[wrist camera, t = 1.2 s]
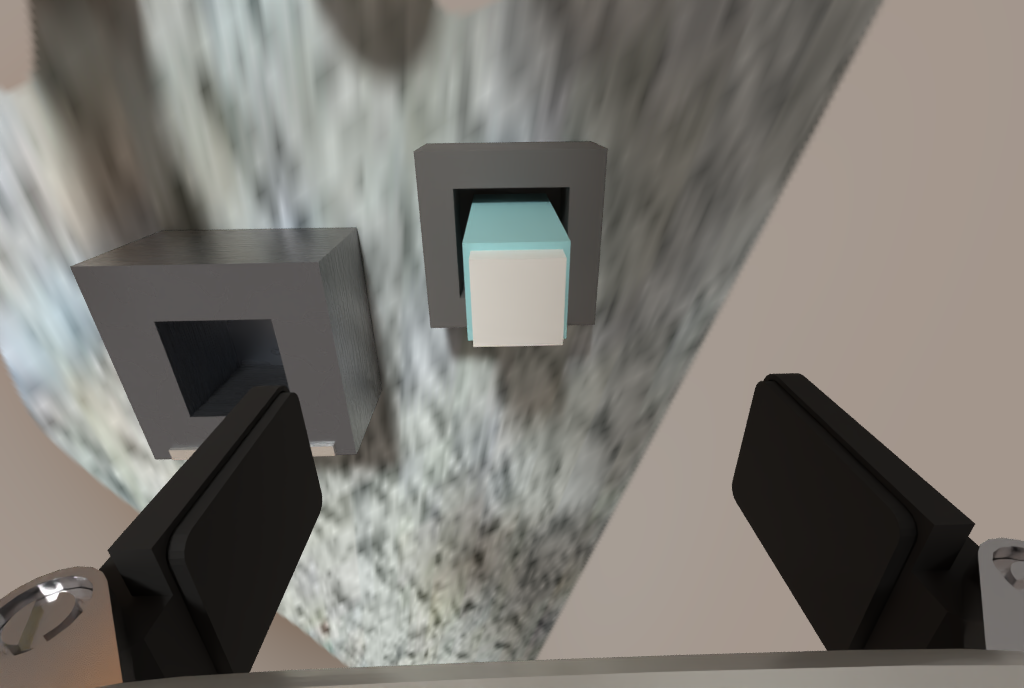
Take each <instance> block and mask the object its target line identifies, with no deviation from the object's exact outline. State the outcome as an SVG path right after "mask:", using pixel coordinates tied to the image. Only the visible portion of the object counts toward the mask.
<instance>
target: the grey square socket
mask: <svg viewBox="0 0 1024 688" xmlns="http://www.w3.org/2000/svg"><path fill="white" fill-rule="evenodd" d="M607 150H608V149H607V148H605V147H602V146H600V145H598V144H596V143H593V142H591V141H585V142H510V143H434V144H425V145H423V146H422V147H420V148H419V149H417V150H415V151H414V159H415V169H416V180H417V190H418V201H419V211H420V221H421V232H422V242H423V253H424V263H425V274H426V284H427V294H428V305H429V315H430V326H431V328H452V327H467V316H466V299H465V282H464V264H463V247H462V242H463V238H464V234H465V230H466V226H467V222H468V218H469V214H470V210H471V206H472V201H473V197H474V194H531V193H546V195H547V197H548V199H549V201H550V202H551V204H552V206H553V208H554V210H555V212H556V214H557V216H558V218H559V220H560V222H561V224H562V226H563V227H564V229H565V231H566V233H567V235H568V237H569V239H570V241H571V246H570V268H569V290H568V312H567V325H595V312H596V298H597V285H598V271H599V258H600V244H601V231H602V218H603V204H604V191H605V177H606V164H607Z"/></svg>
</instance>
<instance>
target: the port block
mask: <svg viewBox="0 0 1024 688" xmlns="http://www.w3.org/2000/svg"><path fill="white" fill-rule="evenodd" d="M70 267H71V270H72V272H73V274H74V277H75V279H76V281H77V283H78V286H79V288H80V290H81V292H82V295H83V297H84V299H85V301H86V304H87V306H88V308H89V310H90V313H91V315H92V317H93V319H94V322H95V324H96V326H97V329H98V331H99V333H100V335H101V338H102V340H103V342H104V344H105V347H106V349H107V351H108V353H109V356H110V358H111V360H112V362H113V365H114V367H115V369H116V371H117V374H118V376H119V378H120V381H121V383H122V385H123V387H124V390H125V392H126V394H127V396H128V399H129V401H130V403H131V405H132V408H133V410H134V412H135V414H136V417H137V419H138V421H139V423H140V426H141V428H142V430H143V433H144V435H145V437H146V439H147V442H148V444H149V446H150V448H151V451H152V453H153V455H154V457H155V459H172V460H188V459H189V458H190V457H191V455H192V454H193V453H194V452H195V451H196V450H197V449H198V448H199V446H200V445H201V444H202V443H203V442H204V441H205V440H206V439H207V437H208V436H209V435H210V434H211V433H212V432H213V431H214V430H215V428H216V427H217V426H218V425H219V424H220V423H221V422H222V421H223V419H224V418H225V417H226V416H227V415H228V414H229V413H230V412H231V410H232V409H233V408H234V407H235V406H236V405H237V404H238V403H239V401H240V400H241V399H242V398H243V397H244V396H245V395H246V394H247V392H248V391H249V390H250V389H251V388H253V387H254V386H281V385H284V386H286V387H287V388H288V389H289V391H290V392H294V393H296V394H297V395H298V398H299V401H300V405H301V409H302V414H303V418H304V422H305V426H306V430H307V434H308V439H309V443H310V447H311V451H312V455H313V456H335V455H348V454H357V452H358V449H359V447H360V444H361V442H362V439H363V437H364V434H365V432H366V429H367V427H368V424H369V422H370V419H371V417H372V414H373V412H374V409H375V407H376V404H377V402H378V399H379V397H380V394H381V392H382V387H381V381H380V374H379V368H378V361H377V355H376V349H375V342H374V336H373V329H372V323H371V317H370V310H369V304H368V297H367V291H366V285H365V278H364V272H363V266H362V259H361V253H360V246H359V240H358V234H357V228H298V229H238V230H178V231H160V232H158V233H155V234H152V235H150V236H147V237H145V238H142V239H140V240H137V241H135V242H132V243H129V244H127V245H124V246H122V247H119V248H117V249H114V250H111V251H109V252H106V253H104V254H101V255H99V256H96V257H93V258H91V259H88V260H86V261H83V262H81V263H78V264H76V265H73V266H70Z"/></svg>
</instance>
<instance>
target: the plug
mask: <svg viewBox="0 0 1024 688" xmlns="http://www.w3.org/2000/svg"><path fill="white" fill-rule="evenodd" d="M570 246H571V241H570V239H569V237H568V235H567V233H566V231H565V229H564V227H563V226H562V224H561V222H560V220H559V218H558V216H557V214H556V212H555V210H554V208H553V206H552V204H551V202H550V201H549V199H548V197H547V195H546V193H531V194H474V197H473V201H472V206H471V210H470V214H469V218H468V222H467V226H466V230H465V234H464V238H463V242H462V247H463V264H464V282H465V299H466V316H467V333H468V341H471V340H473V347H499V346H546V345H563V339H565V338H566V334H567V312H568V290H569V268H570Z"/></svg>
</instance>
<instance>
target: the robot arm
mask: <svg viewBox="0 0 1024 688" xmlns="http://www.w3.org/2000/svg"><path fill="white" fill-rule="evenodd" d="M732 491H733V496H734V499H735V500H736V503H737V504H738V506H739V507H740V509H741V511H742V512H743V514H744V516H745V517H746V519H747V520H748V522H749V524H750V525H751V527H752V528H753V530H754V532H755V533H756V535H757V537H758V538H759V540H760V541H761V543H762V545H763V547H764V548H765V550H766V552H767V553H768V555H769V556H770V558H771V559H772V561H773V563H774V564H775V566H776V568H777V569H778V571H779V573H780V574H781V576H782V578H783V579H784V581H785V582H786V584H787V586H788V587H789V589H790V591H791V592H792V594H793V596H794V597H795V599H796V600H797V602H798V604H799V605H800V607H801V609H802V610H803V612H804V613H805V615H806V617H807V618H808V620H809V622H810V623H811V625H812V626H813V628H814V630H815V632H816V633H817V635H818V636H819V638H820V640H821V641H822V643H823V645H824V646H825V648H826V649H827V651H804V652H770V653H737V654H705V655H704V654H703V655H675V656H674V655H671V656H642V657H616V658H615V657H614V658H586V659H585V658H584V659H561V660H560V659H558V660H529V661H502V662H475V663H450V664H426V665H402V666H378V667H353V668H330V669H305V670H287V671H286V670H285V671H268V672H253V673H249V672H250V670H251V668H252V666H253V663H254V661H255V659H256V657H257V654H258V652H259V650H260V648H261V645H262V643H263V641H264V638H265V636H266V634H267V631H268V630H269V627H270V625H271V623H272V620H273V618H274V616H275V614H276V611H277V609H278V607H279V605H280V602H281V600H282V598H283V596H284V593H285V591H286V589H287V586H288V584H289V582H290V580H291V577H292V575H293V573H294V571H295V568H296V566H297V564H298V561H299V559H300V557H301V555H302V552H303V550H304V548H305V546H306V543H307V541H308V539H309V537H310V534H311V532H312V530H313V527H314V525H315V523H316V521H317V518H318V516H319V514H320V511H321V507H322V493H321V489H320V484H319V480H318V476H317V472H316V468H315V464H314V459H313V455H312V451H311V447H310V443H309V439H308V434H307V430H306V426H305V422H304V418H303V414H302V409H301V405H300V401H299V398H298V395H297V394H296V393H294V392H290V391H289V389H288V388H287V387H286V386H284V385H281V386H254V387H253V388H251V389H250V390H249V391H248V392H247V394H246V395H245V396H244V397H243V398H242V399H241V400H240V401H239V403H238V404H237V405H236V406H235V407H234V408H233V409H232V410H231V412H230V413H229V414H228V415H227V416H226V417H225V418H224V419H223V421H222V422H221V423H220V424H219V425H218V426H217V427H216V428H215V430H214V431H213V432H212V433H211V434H210V435H209V436H208V437H207V439H206V440H205V441H204V442H203V443H202V444H201V445H200V446H199V448H198V449H197V450H196V451H195V452H194V453H193V454H192V455H191V457H190V458H189V459H188V460H187V461H186V462H185V463H184V465H183V466H182V467H181V468H180V469H179V470H178V471H177V472H176V474H175V475H174V476H173V477H172V478H171V479H170V480H169V481H168V483H167V484H166V485H165V486H164V487H163V488H162V489H161V490H160V492H159V493H158V494H157V495H156V496H155V497H154V498H153V499H152V501H151V502H150V503H149V504H148V505H147V506H146V507H145V508H144V510H143V511H142V512H141V513H140V514H139V515H138V516H137V517H136V519H135V520H134V521H133V522H132V523H131V524H130V525H129V527H128V528H127V529H126V530H125V531H124V532H123V533H122V534H121V536H120V537H119V538H118V539H117V540H116V541H115V542H114V543H113V545H112V546H111V547H110V548H109V549H108V552H109V554H110V558H109V559H108V560H107V561H106V562H105V563H104V565H103V566H102V567H101V568H100V569H99V570H97V569H95V568H93V567H73V568H67V569H62V570H57V571H55V572H52V573H49V574H46V575H44V576H41V577H38V578H36V579H34V580H32V581H30V582H28V583H26V584H24V585H22V586H21V587H19V588H17V589H15V590H14V591H12V592H10V593H9V594H8V595H6V596H5V597H3V598H2V599H0V688H1024V541H1021V540H1014V539H1007V538H996V539H988V540H987V541H985V542H984V543H982V544H980V546H978V545H977V544H976V543H975V542H974V541H972V540H971V539H970V538H969V537H968V536H969V534H970V532H971V530H972V528H973V527H974V525H975V523H974V522H972V521H971V520H970V519H969V518H968V517H967V516H966V515H964V514H963V513H962V512H961V511H960V510H959V509H957V508H956V507H955V506H954V505H953V504H952V503H950V502H949V501H948V500H947V499H946V498H944V496H942V495H941V494H940V493H939V492H938V491H937V490H935V489H934V488H933V487H932V486H931V485H930V484H928V483H927V482H926V481H925V480H923V478H921V477H920V476H919V475H918V474H917V473H916V472H915V471H913V470H912V469H911V468H909V466H908V465H906V464H905V463H904V462H903V461H902V460H901V459H899V458H898V457H897V456H896V455H895V454H894V453H892V452H891V451H890V450H889V449H888V448H887V447H886V446H884V445H883V444H882V443H881V442H880V441H878V440H877V439H876V438H875V437H874V436H873V435H871V434H870V433H869V432H868V431H867V430H866V429H865V428H864V427H862V426H861V425H860V424H859V423H858V422H857V421H855V420H854V419H853V418H852V417H851V416H850V415H848V414H847V413H846V412H845V411H844V410H843V409H841V408H840V407H839V406H838V405H837V404H836V403H835V402H833V401H832V400H831V399H830V398H829V397H827V396H826V395H825V394H824V393H823V392H822V391H821V390H819V389H818V388H817V387H816V386H815V385H814V384H813V383H811V382H810V381H809V380H808V379H807V378H805V377H804V376H803V375H801V374H798V373H795V374H794V373H790V374H769V375H767V376H766V378H765V379H764V381H760V382H759V383H758V384H757V385H756V388H755V392H754V395H753V400H752V404H751V408H750V412H749V416H748V420H747V424H746V428H745V432H744V437H743V441H742V445H741V449H740V453H739V457H738V461H737V465H736V469H735V473H734V477H733V482H732Z"/></svg>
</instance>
